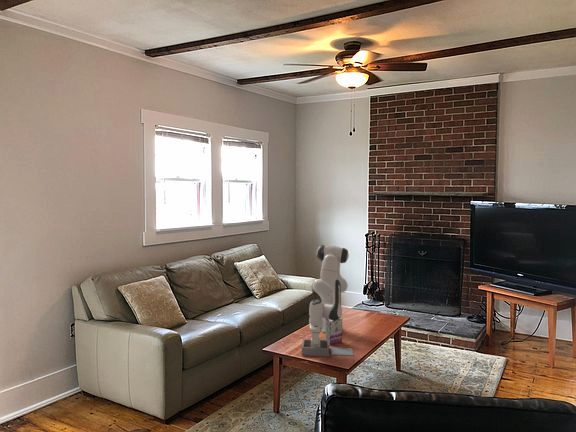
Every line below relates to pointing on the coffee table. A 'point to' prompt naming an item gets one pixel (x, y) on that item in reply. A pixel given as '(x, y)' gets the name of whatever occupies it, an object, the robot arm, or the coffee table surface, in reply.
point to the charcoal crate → (315, 351)
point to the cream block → (317, 344)
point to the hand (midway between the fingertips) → (315, 346)
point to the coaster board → (342, 351)
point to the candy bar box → (334, 331)
